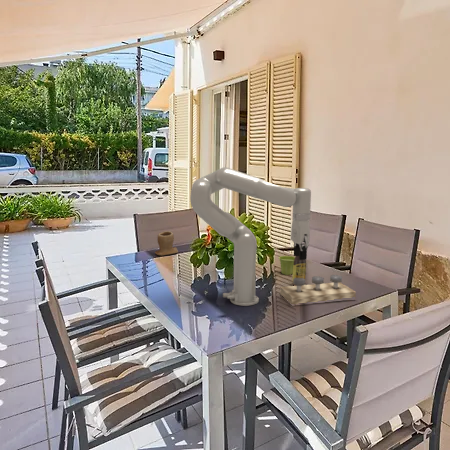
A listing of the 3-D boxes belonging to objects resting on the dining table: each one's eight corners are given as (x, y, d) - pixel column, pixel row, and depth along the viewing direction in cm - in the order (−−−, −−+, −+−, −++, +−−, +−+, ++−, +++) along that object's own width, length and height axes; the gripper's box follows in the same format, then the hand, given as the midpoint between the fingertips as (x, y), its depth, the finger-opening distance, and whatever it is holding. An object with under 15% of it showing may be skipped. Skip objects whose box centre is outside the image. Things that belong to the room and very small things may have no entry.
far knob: (333, 291, 181) (333, 278, 180) (327, 287, 186) (328, 275, 185) (343, 290, 182) (344, 277, 181) (337, 286, 187) (338, 274, 186)
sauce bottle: (295, 288, 196) (296, 248, 192) (290, 284, 202) (291, 245, 198) (307, 286, 198) (309, 247, 194) (302, 282, 204) (303, 244, 200)
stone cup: (160, 258, 252) (159, 234, 249) (153, 254, 262) (152, 231, 259) (182, 254, 259) (182, 232, 257) (174, 251, 269) (174, 229, 267)
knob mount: (292, 306, 173) (292, 297, 172) (280, 295, 186) (280, 286, 185) (355, 300, 180) (355, 291, 179) (339, 290, 193) (339, 282, 192)
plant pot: (295, 271, 224) (295, 256, 222) (296, 276, 214) (297, 260, 213) (278, 270, 225) (278, 255, 223) (278, 275, 215) (279, 260, 214)
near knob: (295, 294, 177) (296, 281, 176) (291, 291, 182) (291, 278, 181) (306, 293, 178) (307, 280, 177) (301, 290, 183) (302, 277, 182)
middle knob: (314, 293, 179) (315, 280, 178) (309, 289, 184) (310, 276, 183) (325, 292, 180) (325, 279, 179) (320, 288, 185) (320, 275, 184)
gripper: (285, 214, 181) (284, 253, 185) (301, 220, 165) (300, 263, 168) (301, 213, 183) (299, 252, 186) (318, 219, 167) (316, 262, 170)
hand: (299, 257), depth 177 cm, fingers open, 5 cm apart
